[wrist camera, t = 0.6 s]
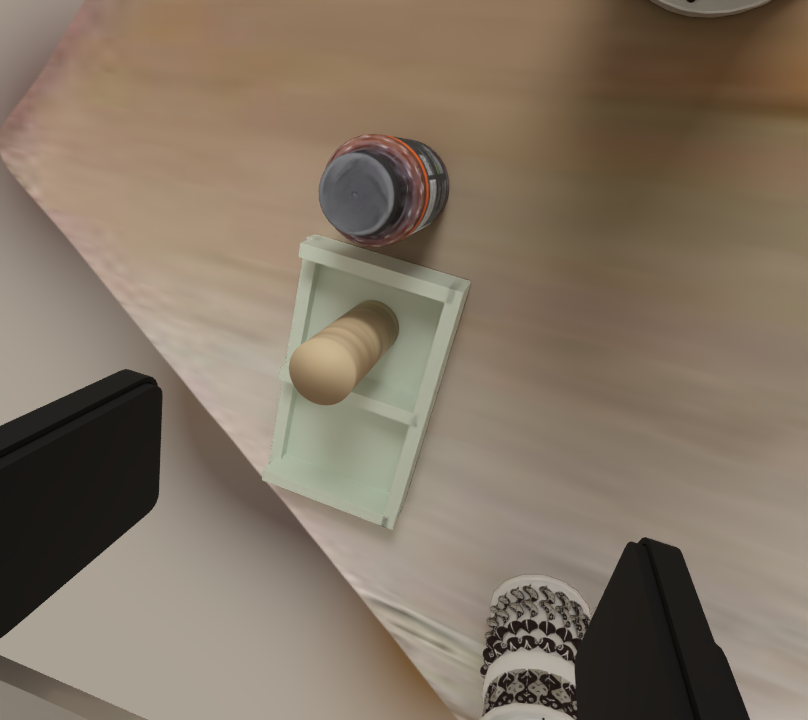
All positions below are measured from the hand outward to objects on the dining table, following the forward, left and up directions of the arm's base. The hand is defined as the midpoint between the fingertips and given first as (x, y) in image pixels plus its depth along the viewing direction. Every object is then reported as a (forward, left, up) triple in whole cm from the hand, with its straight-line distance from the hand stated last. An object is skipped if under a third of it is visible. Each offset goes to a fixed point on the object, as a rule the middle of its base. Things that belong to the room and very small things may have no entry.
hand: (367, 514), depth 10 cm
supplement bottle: (-3, -7, -29) cm, 30 cm away
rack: (+12, -7, -29) cm, 32 cm away
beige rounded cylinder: (+7, -7, -28) cm, 30 cm away
